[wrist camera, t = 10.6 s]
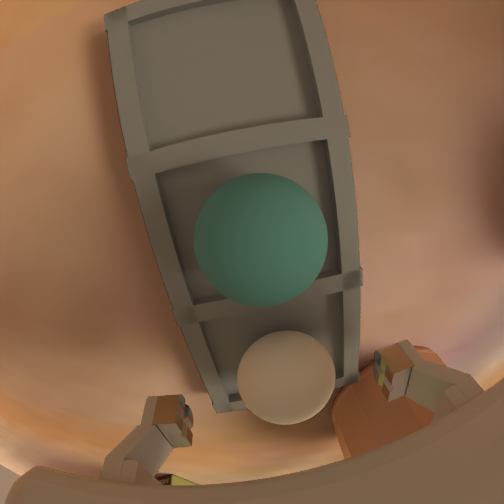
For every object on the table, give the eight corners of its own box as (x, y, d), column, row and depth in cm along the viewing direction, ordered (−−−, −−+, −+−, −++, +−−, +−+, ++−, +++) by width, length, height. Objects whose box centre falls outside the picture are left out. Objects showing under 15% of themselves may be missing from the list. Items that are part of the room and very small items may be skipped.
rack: (114, 28, 8) (101, 15, 7) (303, -8, 8) (312, -23, 7) (214, 393, 15) (214, 413, 14) (351, 363, 15) (360, 381, 14)
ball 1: (299, 158, 10) (341, 168, 6) (313, 260, 11) (351, 315, 8) (188, 181, 10) (165, 203, 6) (214, 281, 11) (210, 346, 8)
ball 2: (317, 302, 12) (350, 364, 8) (322, 366, 14) (346, 427, 10) (225, 322, 12) (227, 392, 8) (244, 383, 13) (251, 449, 10)
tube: (448, 329, 15) (505, 392, 9) (424, 405, 18) (457, 460, 12) (330, 372, 15) (369, 466, 9) (330, 440, 18) (352, 509, 12)
